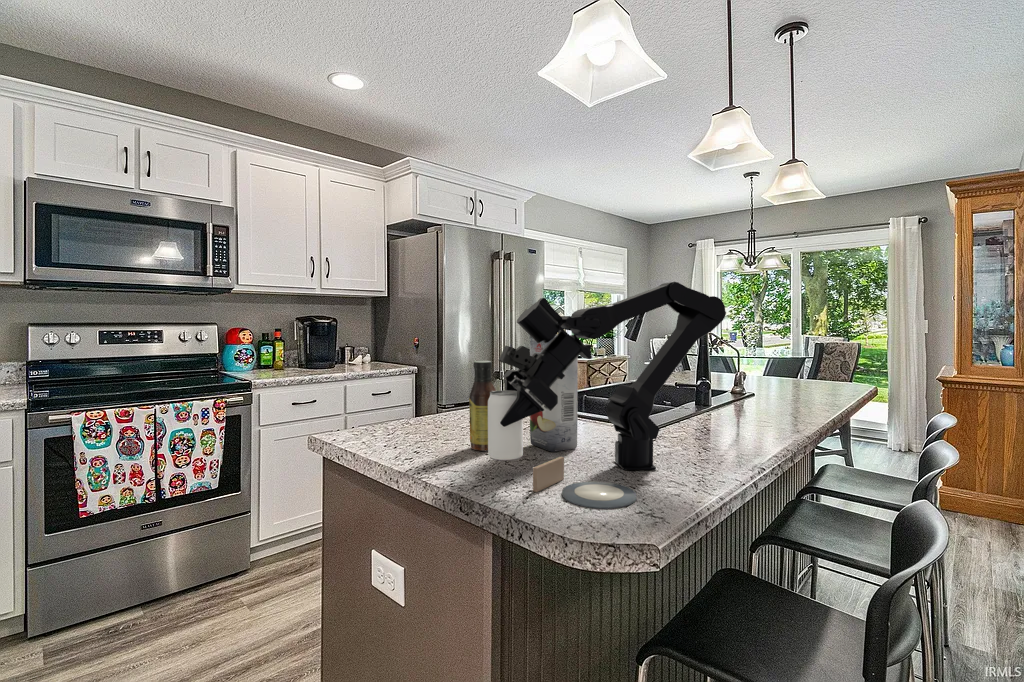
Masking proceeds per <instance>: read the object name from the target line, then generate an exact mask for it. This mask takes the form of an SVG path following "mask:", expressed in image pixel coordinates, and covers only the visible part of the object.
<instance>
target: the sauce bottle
mask: <svg viewBox="0 0 1024 682" xmlns="http://www.w3.org/2000/svg"><path fill="white" fill-rule="evenodd" d="M473 371H474V378H473V380H474V381H473V384H472V386H471V390H470V393H469V395H468V396H469V397H468V400H469V401H468V402H469V403H468V404H469V405H468V406H469V407H468V408H469V409H468V411H469V442H470V448H471V449H472V450H475V451H481V452H488V399H489V397H490V392H493V391H497V389H496V388H495V386H494V384H493V383H492V361H491V360H475V361H473Z"/></svg>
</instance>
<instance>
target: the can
mask: <svg viewBox="0 0 1024 682" xmlns="http://www.w3.org/2000/svg"><path fill="white" fill-rule="evenodd" d="M516 398H517V391H510V390H505V389H504V390H496V391H493V392H490V397H489V399H488V451H487V455H488V457H489V458H490V459H491V460H494V461H500V462H507V461H508V462H509V461H511V462H512V461H518V460H519V459H521V458H522V457H523V455H524V430H523V429H524V425H523V424H524V422H523V421H524V419H521V420H519V421H517V422H514V423H512V424H510V425H508V426H505V427H503V426H502V425H501V424H500V422H501V420H502V419H503V417H504V415H505V414H506V413H507V411H508V410H509V408H510V407H511V405H512V404H513V402H514V401H515V400H516Z"/></svg>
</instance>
